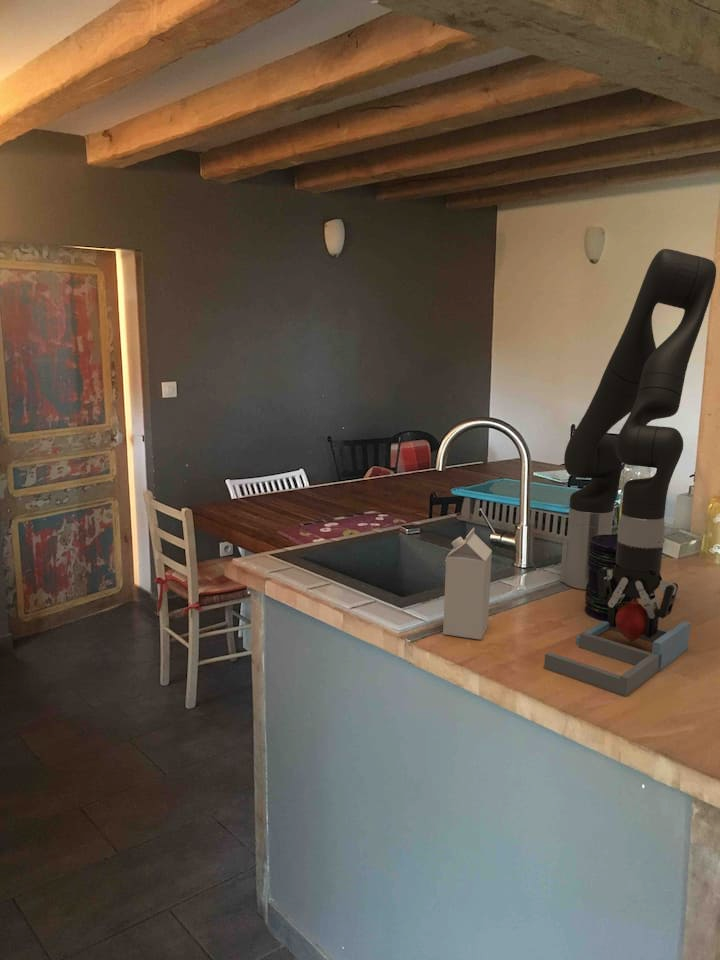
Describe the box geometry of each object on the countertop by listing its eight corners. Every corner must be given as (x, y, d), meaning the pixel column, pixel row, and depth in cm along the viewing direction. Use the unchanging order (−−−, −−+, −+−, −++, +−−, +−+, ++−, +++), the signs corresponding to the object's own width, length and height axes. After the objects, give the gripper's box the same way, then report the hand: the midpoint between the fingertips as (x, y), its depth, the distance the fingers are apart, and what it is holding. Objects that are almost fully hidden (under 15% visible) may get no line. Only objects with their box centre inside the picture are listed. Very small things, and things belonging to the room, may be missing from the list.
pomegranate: (608, 634, 140) (612, 592, 138) (639, 633, 140) (643, 592, 138) (621, 647, 134) (625, 604, 132) (653, 646, 134) (658, 603, 133)
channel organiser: (537, 665, 129) (539, 637, 128) (606, 625, 147) (608, 600, 146) (625, 696, 119) (628, 666, 118) (687, 649, 137) (690, 622, 136)
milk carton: (488, 626, 145) (493, 529, 141) (481, 640, 139) (486, 539, 135) (451, 621, 148) (455, 525, 144) (442, 635, 141) (446, 535, 137)
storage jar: (639, 610, 155) (646, 539, 152) (631, 626, 147) (638, 551, 144) (589, 601, 160) (595, 531, 157) (578, 616, 151) (584, 543, 148)
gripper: (591, 535, 135) (584, 626, 139) (673, 553, 126) (663, 649, 129) (610, 528, 141) (603, 615, 144) (690, 544, 131) (680, 637, 135)
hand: (631, 631), depth 137 cm, fingers closed on pomegranate, 5 cm apart
